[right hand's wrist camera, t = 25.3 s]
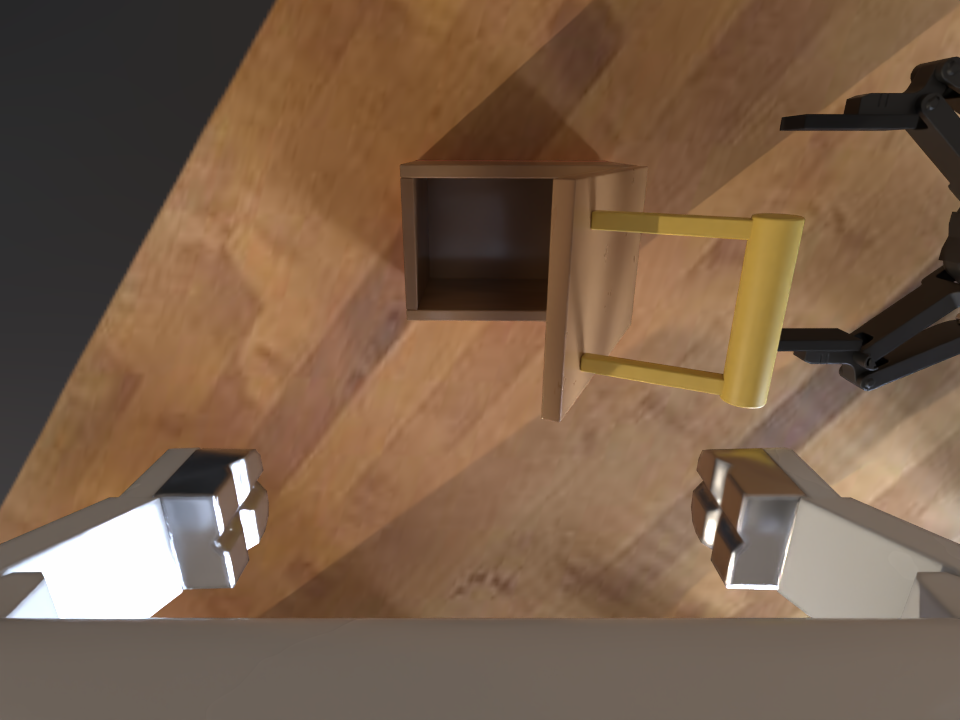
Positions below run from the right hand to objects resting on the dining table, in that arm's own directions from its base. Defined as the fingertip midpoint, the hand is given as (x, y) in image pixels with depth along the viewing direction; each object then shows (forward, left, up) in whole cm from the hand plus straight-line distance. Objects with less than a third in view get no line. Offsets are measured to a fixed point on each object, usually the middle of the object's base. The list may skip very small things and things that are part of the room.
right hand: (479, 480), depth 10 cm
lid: (-2, -5, -18) cm, 19 cm away
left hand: (-8, -17, -27) cm, 33 cm away
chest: (-1, -2, -35) cm, 35 cm away
